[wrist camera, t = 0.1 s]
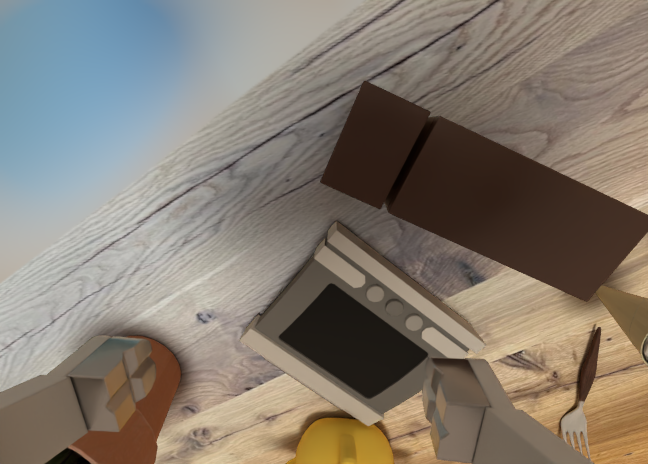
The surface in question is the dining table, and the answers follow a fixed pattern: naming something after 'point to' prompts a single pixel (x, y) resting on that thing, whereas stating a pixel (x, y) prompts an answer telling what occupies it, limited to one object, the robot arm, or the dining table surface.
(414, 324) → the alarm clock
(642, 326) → the ice cream cone
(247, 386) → the dining table surface
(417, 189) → the cake loaf
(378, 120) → the cake slice
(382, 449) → the teapot
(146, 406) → the potted plant
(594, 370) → the fork
